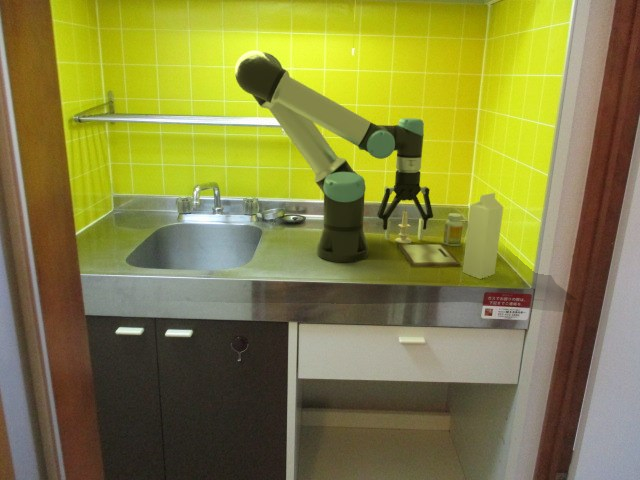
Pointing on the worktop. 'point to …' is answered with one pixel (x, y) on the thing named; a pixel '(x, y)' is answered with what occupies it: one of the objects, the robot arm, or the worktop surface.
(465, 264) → the milk
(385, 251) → the worktop surface
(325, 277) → the worktop surface
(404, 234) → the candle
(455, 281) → the worktop surface
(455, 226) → the supplement bottle
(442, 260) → the writing board
